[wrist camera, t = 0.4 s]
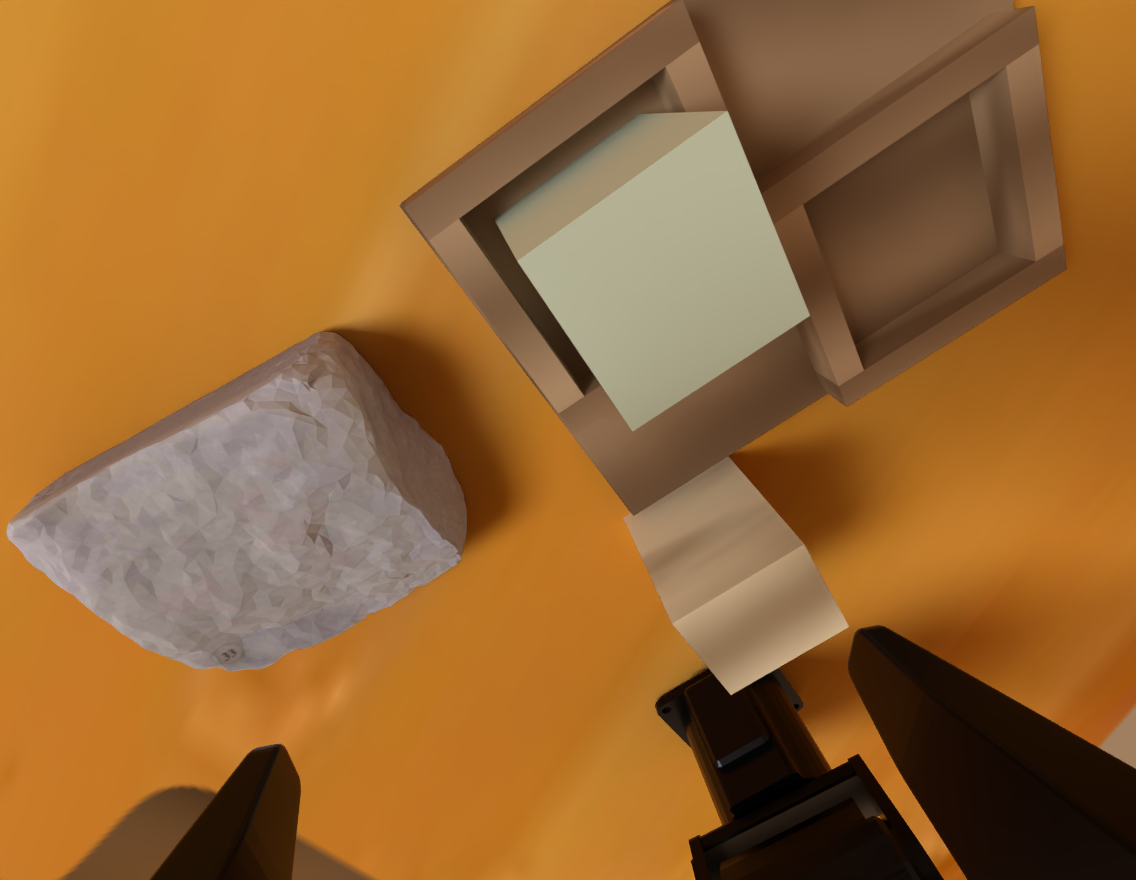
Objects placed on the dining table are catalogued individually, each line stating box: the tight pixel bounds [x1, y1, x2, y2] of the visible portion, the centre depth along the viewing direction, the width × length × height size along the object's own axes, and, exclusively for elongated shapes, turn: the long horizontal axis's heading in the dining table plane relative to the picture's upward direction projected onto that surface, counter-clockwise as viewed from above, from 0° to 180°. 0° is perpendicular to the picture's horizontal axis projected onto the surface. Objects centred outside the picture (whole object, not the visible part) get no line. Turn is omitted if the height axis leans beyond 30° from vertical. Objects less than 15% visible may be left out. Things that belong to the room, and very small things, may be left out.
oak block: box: [623, 456, 849, 695], centre depth 23 cm, size 5×5×6 cm
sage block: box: [494, 111, 810, 432], centre depth 15 cm, size 5×5×6 cm
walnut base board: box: [400, 0, 1067, 516], centre depth 19 cm, size 14×18×2 cm
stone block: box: [6, 331, 467, 671], centre depth 20 cm, size 12×5×10 cm
